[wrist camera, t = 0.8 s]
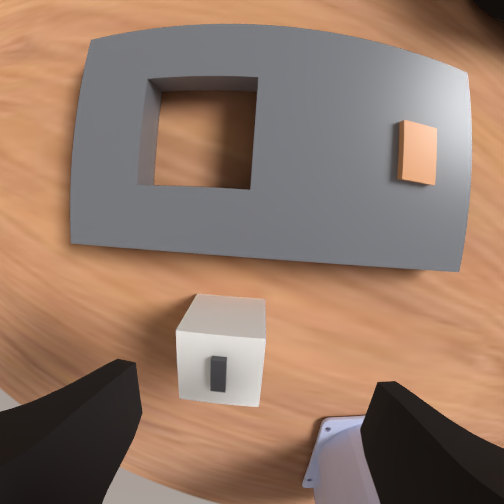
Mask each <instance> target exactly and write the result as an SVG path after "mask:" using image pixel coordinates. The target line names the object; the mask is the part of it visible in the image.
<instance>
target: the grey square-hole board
mask: <svg viewBox="0 0 504 504" xmlns="http://www.w3.org/2000/svg"><path fill="white" fill-rule="evenodd" d="M169 91H248V92H257V103H256V117H255V131H254V144H253V158H252V172H251V187H250V189H236V188H219V187H197V186H169V185H154V173H155V158H156V145H157V134H158V123H159V114H160V105H161V97H162V92H169ZM471 168H472V122H471V104H470V92H469V82H468V73H467V72H464V71H462V70H460V69H457V68H455V67H452V66H450V65H447V64H445V63H442V62H439V61H437V60H434V59H431V58H428V57H426V56H423V55H420V54H417V53H414V52H410V51H407V50H404V49H401V48H397V47H394V46H390V45H386V44H383V43H379V42H375V41H371V40H366V39H362V38H357V37H353V36H348V35H342V34H337V33H331V32H325V31H319V30H312V29H304V28H295V27H285V26H273V25H255V24H203V25H185V26H173V27H163V28H155V29H147V30H140V31H134V32H128V33H122V34H117V35H111V36H107V37H102V38H97V39H93V40H91V42H90V46H89V50H88V55H87V59H86V64H85V68H84V73H83V78H82V83H81V89H80V95H79V101H78V108H77V115H76V123H75V131H74V141H73V152H72V166H71V188H70V233H71V244H83V245H96V246H108V247H120V248H133V249H145V250H158V251H170V252H183V253H196V254H209V255H222V256H236V257H249V258H262V259H276V260H290V261H303V262H317V263H331V264H346V265H360V266H374V267H389V268H404V269H419V270H434V271H449V272H459V270H460V265H461V260H462V254H463V248H464V242H465V235H466V228H467V220H468V211H469V200H470V187H471Z"/></svg>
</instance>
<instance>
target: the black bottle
mask: <svg viewBox="0 0 504 504" xmlns="http://www.w3.org/2000/svg"><path fill="white" fill-rule="evenodd" d="M473 1H474V2H475V3H476V4H477V5H478V6H479V7H480V8H481V9H482V10H484V11H485V12H487V13H488V14H490V15H491V16H492V17H494V18H496V19H498V20H500V21H502V22H504V0H473Z"/></svg>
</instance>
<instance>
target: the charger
mask: <svg viewBox="0 0 504 504" xmlns="http://www.w3.org/2000/svg"><path fill="white" fill-rule="evenodd" d="M265 345H266V313H265V299H258V298H245V297H233V296H221V295H210V294H199V293H197V295H196V297H195V298H194V300H193V302H192V303H191V305H190V307H189V308H188V310H187V312H186V314H185V315H184V317H183V319H182V320H181V322H180V324H179V326H178V327H177V329H176V349H177V369H178V385H179V398H180V399H187V400H194V401H201V402H210V403H218V404H228V405H239V406H253V407H259V400H260V391H261V382H262V373H263V364H264V354H265Z"/></svg>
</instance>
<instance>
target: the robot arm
mask: <svg viewBox="0 0 504 504" xmlns="http://www.w3.org/2000/svg"><path fill="white" fill-rule="evenodd" d="M141 415H142V406H141V400H140V393H139V385H138V377H137V369H136V363H135V362H130V361H126V360H121V359H116V360H114V361H112V362H110V363H108V364H106V365H104V366H103V367H101V368H99V369H97V370H95V371H93V372H92V373H90V374H88V375H86V376H84V377H82V378H81V379H79V380H77V381H75V382H73V383H71V384H69V385H67V386H65V387H63V388H61V389H59V390H57V391H55V392H52V393H50V394H48V395H46V396H44V397H42V398H39V399H37V400H35V401H32V402H29V403H27V404H24V405H21V406H18V407H15V408H12V409H9V410H5V411H1V412H0V504H102V502H103V499H104V497H105V495H106V492H107V490H108V488H109V486H110V484H111V482H112V480H113V478H114V476H115V474H116V472H117V470H118V468H119V466H120V464H121V463H122V461H123V459H124V457H125V455H126V453H127V451H128V449H129V447H130V445H131V443H132V441H133V439H134V436H135V433H136V430H137V428H138V425H139V422H140V418H141ZM327 427H329V428H327ZM325 428H327V429H325ZM302 487H304V488H313V490H314V497H315V504H504V448H501V447H499V446H497V445H494V444H492V443H490V442H488V441H486V440H484V439H482V438H480V437H478V436H476V435H474V434H472V433H471V432H469V431H467V430H466V429H464V428H462V427H461V426H459V425H458V424H456V423H454V422H453V421H451V420H450V419H448V418H447V417H445V416H444V415H442V414H441V413H440V412H438V411H437V410H435V409H434V408H433V407H431V406H430V405H428V404H427V403H426V402H424V401H423V400H422V399H420V398H419V397H417V396H416V395H415V394H413V393H412V392H410V391H409V390H408V389H406V388H405V387H403V386H402V385H400V384H399V383H397V382H395V381H390V382H377V385H376V388H375V391H374V394H373V397H372V399H371V402H370V405H369V408H368V410H367V413H366V415H365V416H352V417H329V418H326V419H324V420H323V421H322V423H321V426H320V430H319V433H318V436H317V440H316V443H315V446H314V449H313V453H312V456H311V459H310V462H309V465H308V468H307V471H306V474H305V476H304V479H303V482H302Z"/></svg>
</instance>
